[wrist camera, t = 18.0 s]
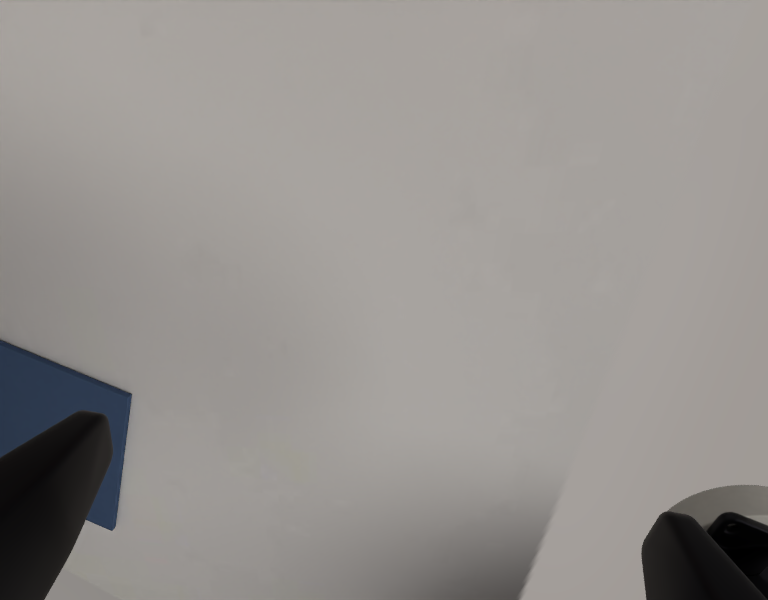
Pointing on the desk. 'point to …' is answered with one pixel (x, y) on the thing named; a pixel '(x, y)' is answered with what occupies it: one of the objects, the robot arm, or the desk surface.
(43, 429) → the blue mat
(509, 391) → the desk surface
